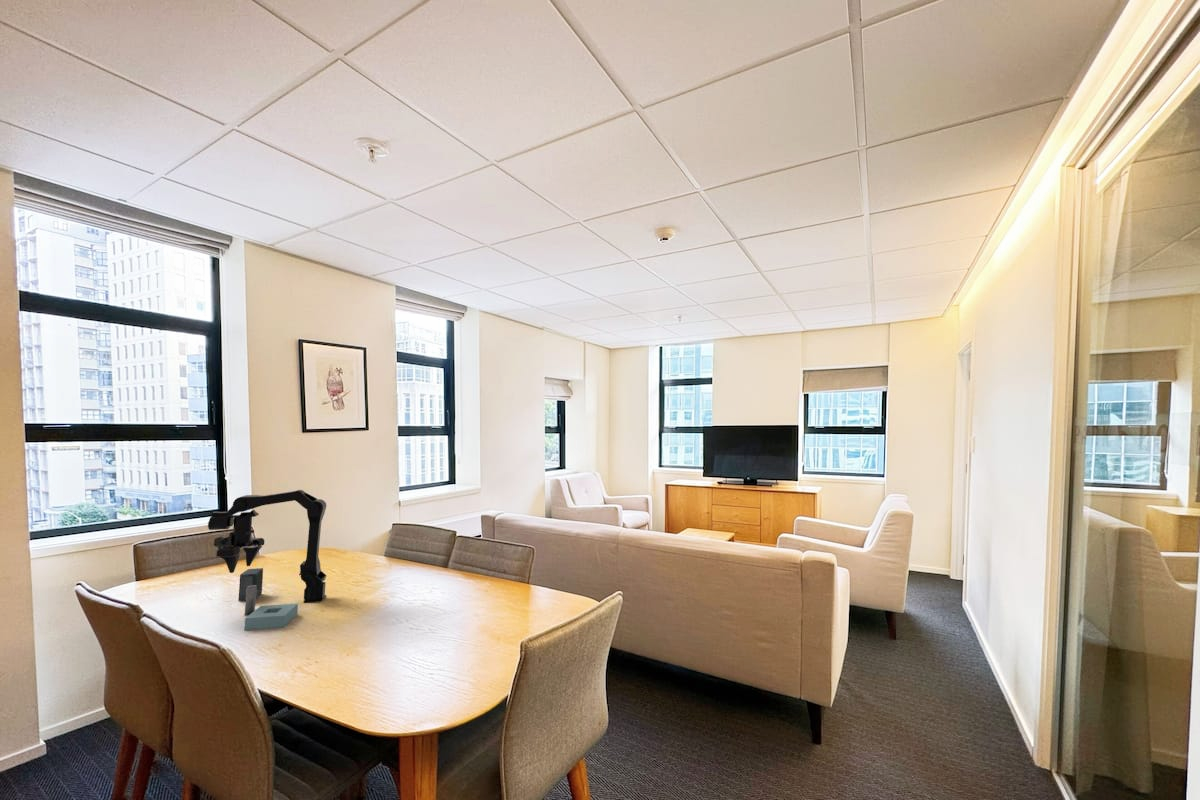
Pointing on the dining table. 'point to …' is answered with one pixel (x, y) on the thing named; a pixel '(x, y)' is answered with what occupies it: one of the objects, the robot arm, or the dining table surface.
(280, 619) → the hole block
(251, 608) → the peg
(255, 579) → the box
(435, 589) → the dining table surface
